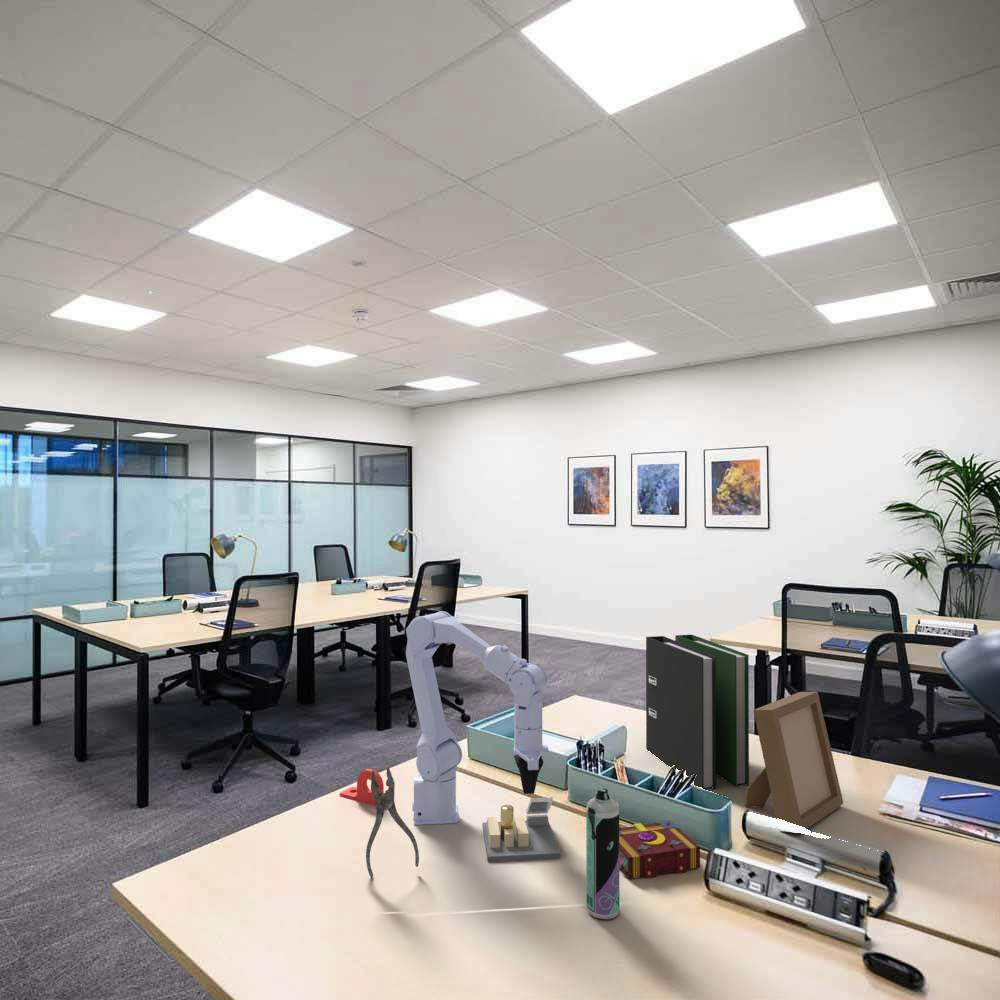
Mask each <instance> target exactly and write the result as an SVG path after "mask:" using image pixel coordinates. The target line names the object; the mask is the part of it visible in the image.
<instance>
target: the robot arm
mask: <svg viewBox="0 0 1000 1000" xmlns="http://www.w3.org/2000/svg"><path fill="white" fill-rule="evenodd" d="M405 632H406V638H407V643H406V650H405V657H406V663H407V666H408V672H409V676H410V680H411V681H410V682H411V687H412V690H413V695H414V697H413V698H414V700H415V701H414V702H415V706H416V710H417V715H418V719H419V720H418V721H419V725H420V730H421V736H420V738H419V740H418V742H417V744H416V751H417V753H416V756H417V757H416V761H415V762H416V764H415V766H416V769H417V772H418V775H414V778H413V802H412V810H411V811H412V812H413V825H414V826H417V825H420V826H423V825H440V824H441V825H444V824H458V823H459V813H458V812H459V811H458V805H457V770H458V765H460V763H461V761H462V758H463V750H462V747H461V746H460V744H459V743H458V741H457V739H456V735H455V733H454V732H453V731H452V730H451V729H450V728H448V727H447V724H446V723H447V722H446V718H445V714H444V713H445V712H444V710H443V709H444V708H443V705H442V704H443V703H442V700H441V695H440V690H439V686H438V685H439V684H438V681H437V675H436V671H435V666H434V662H433V661H434V660H433V656H434V654H435V653H436V651H437V649H438V648H439V647H440V645H442V644H447V643H452V644H454V645H456V646H457V647H459V648H461V649H463V650H465V651H467V652H468V653H470V654H472V655H473V656H475V657H477V658H479V659H480V660H481V661H482V665H483V668H484V669H485V670H486V671H487V672H490V674H492V675H494V676H495V677H496V678H498V679H500V680H501V681H502V682H504V683H506V684H507V685H508V686H509V690H510V691H511V693H512V695H513V703H514V704H513V705H514V706H513V707H514V709H513V710H514V713H513V714H514V721H513V722H514V730H513V731H514V736H513V737H514V739H513V740H514V745H513V752H514V754H515V755H514V756H513V757H514V758H513V759H514V761H515V764H516V766H517V769H518V771H519V776H520V781H521V789H522V791H523V794H524V795H533V794H535V790H536V787H537V782H538V778H539V777H538V776H539V774H540V771H541V769H542V768H543V766H544V760H543V756H542V755H543V753H544V752H548V751H549V746H548V744H543V690H542V689H544V688H545V686H547V685H546V684H547V679H548V677H547V673H546V671H545V669H544V668H543V667H542V666H541V665H540V664H539V663H537V662H529V663H528V661H527V659H525V658H520V657H519V656H517V655H516V654H515V653H512V652H511V651H509V647H508V646H506V645H500V644H495V645H493V646H492V645H491V644H489V643H487V642H486V641H485V640H483V639H482V638H481V637H479V635H477V634H476V633H475V632H472V631H471V630H470V629H469V628H467V627H466V626H465V625H463V624H462V623H461V622H460V620H459V618H457V617H456V616H453V615H451V614H450V613H449V612H447V611H444V610H440V611H437V612H435V613H430V614H426V615H423V616H422V615H421V616H420V615H419V616H416V617H414V618H413V619H412V620H411V621H410V623H409V624H408V626H406V628H405Z"/></svg>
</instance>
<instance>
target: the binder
mask: <svg viewBox="0 0 1000 1000" xmlns="http://www.w3.org/2000/svg"><path fill="white" fill-rule="evenodd" d="M674 639H675V640H674ZM674 639H671V638H669V637H667V636H665V635H664V636H663V635H657V636H656V635H655V636H646V637H645V654H646V655H645V689H646V690H645V708H646V709H645V711H646V712H645V716H646V717H645V718H646V720H645V725H646V726H645V730H646V732H645V734H646V735H645V736H646V737H645V740H646V741H645V747H646V749H647V750H648V751H650V752H651V753H652V754H654V755H655V756H656V757H658V758H659V759H660V760H661V761H663V762H664V763H665V764H666V765H665V764H664V763H663V762H662V763H663V764H664V765H665V766H667V765H668V766H670V767H672V766H673V765H677V769H678V770H682V769H685V770H686V775H687V776H691V775H693V774H697V776H696V778H695V780H694V785H695V786H698V787H702V788H705V789H706V788H712V787H713V788H712V789H713V790H714V791H716V790H717V776H718V777H719V778H721V779H722V778H723V779H722V780H723V781H725V780H726V781H725V782H727V784H729V785H731V784H732V785H731V786H733V787H734V786H735V787H734V788H736V787H738V786H737V785H740V784H745V785H746V786H747V787H748V786H749V785H750V742H749V741H750V732H749V731H750V724H749V723H750V715H749V714H750V713H749V711H750V709H749V705H750V703H749V699H750V698H749V697H750V696H749V694H750V693H749V691H750V690H749V689H750V688H749V684H750V683H749V675H750V673H749V671H750V670H749V664H750V663H749V657H750V656H749V654H748V653H745V652H741V651H739V650H736V649H735V648H734V649H733V648H731V647H728V646H725V645H722V644H719V643H717V642H714V641H711V640H709V639H705V638H702V637H700V636H696V635H694V634H678V635H677V634H676V635H675V638H674ZM648 751H647V752H648ZM652 754H651V755H652ZM656 757H655V758H656ZM659 759H658V760H659ZM660 760H659V761H660ZM661 761H660V762H661ZM668 766H667V767H668ZM694 785H693V786H694ZM695 786H694V787H695ZM715 789H716V790H715Z"/></svg>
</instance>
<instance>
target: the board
mask: <svg viewBox="0 0 1000 1000" xmlns="http://www.w3.org/2000/svg"><path fill="white" fill-rule="evenodd" d="M481 825H482V833H483V838H484V839H483V840H484V844H485V845H484V847H485V853H486V859H487V862H488V863H490V862H491V863H492V862H493V863H494V862H495V863H496V862H511V861H534V860H535V861H536V860H551V859H561V850H560V849H559V846H558V843H557V840H556V838H555V835H554V832H553V830H552V827H551V824H550V821H549V816H548V814H526V820H525V816H524V815H514V838H513V830H512V829H506V830H504V840H502V839H501V821H498V818H497V816H493V817H491V816H488V817H486V822H485V821H483V822H482V824H481Z"/></svg>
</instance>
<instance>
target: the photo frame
mask: <svg viewBox="0 0 1000 1000" xmlns="http://www.w3.org/2000/svg"><path fill="white" fill-rule="evenodd" d="M752 710H753V715H754V719H755V724H756V730H757V734H758V737H759V738H758V739H759V742H760V743H759V744H760V748H761V752H762V756H763V762H764V765H765V766H764V768H763V769H762V771H760V773H759V774H758V775H757V776H755V778H754V779H753V780H752V782H750V783H749V786H747V787H746V793H745V800H744V801H745V802H744V807H745V808H755V807H758V808H759V807H765V805H766V803H767V801H768V799H769V797H770V795H771V800H772V803H773V808H774V809H773V810H774V813H775V818H776V819H777V818H779V819H782V820H785V821H787V822H790V823H793V824H796V825H799V826H802V827H805V828H808V829H809V828H811V827H812V826H813V825H815V824H816V823H818V822H819V821H821V820H822V819H823V818H825V817H826V816H828V815H829V814H830V813H832V812H834V811H836V809H838V808H840V807H841V806H842V805H843V804H844V800H843V795H842V790H841V786H840V781H839V778H838V773H837V769H836V765H835V761H834V756H833V750H832V748H831V744H830V739H829V735H828V731H827V727H826V726H827V725H826V722H825V718H824V713H823V709H822V706H821V701H820V696H819V692H818V691H799V692H796V693H793V694H792V695H789V696H786V697H783V698H781V699H778V700H776V701H773V702H770V703H767V704H765V705H762V706H761V707H757V708H755V709H752ZM753 806H755V807H753Z"/></svg>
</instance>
